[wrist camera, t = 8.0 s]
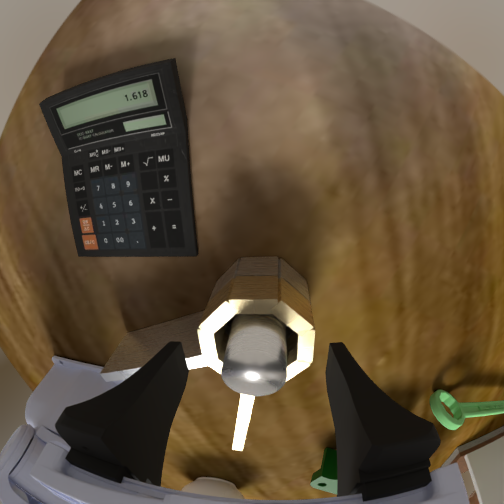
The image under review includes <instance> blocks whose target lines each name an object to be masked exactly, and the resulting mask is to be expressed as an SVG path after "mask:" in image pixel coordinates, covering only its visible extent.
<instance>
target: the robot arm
mask: <svg viewBox="0 0 504 504" xmlns="http://www.w3.org/2000/svg"><path fill="white" fill-rule="evenodd" d="M52 360H53V362H54V364H55V365H54V366H53V367H52V368H51V370H50V371H49V372H48V373H47V375H46V376H45V377H44V378H43V380H42V381H41V382H40V384H39V385H38V386H37V388H36V389H35V390H34V392H33V393H32V394H31V396H30V397H29V399H28V401H27V404H26V409H25V417H26V422H27V425H20V426H19V427H18V428H17V430H16V431H15V432H14V433H13V435H12V436H11V437H10V439H9V440H8V442H7V443H6V445H5V446H4V448H3V450H2V451H1V453H0V501H1V503H2V504H469V503H470V502H469V499H468V495H467V492H466V489H465V485H464V482H463V479H462V476H461V472H460V469H459V466H458V464H457V463H456V462H455V463H452V464H450V465H447V466H444V467H441V468H438V469H436V470H434V471H432V472H429V469H428V467H430V461H429V458H430V457H431V456H432V455H433V453H434V452H435V451H436V450H437V448H438V447H439V445H440V438H439V435H438V433H437V430H436V428H435V427H434V425H433V423H431V422H429V421H427V420H425V419H422V418H420V417H418V416H416V415H415V414H413V413H411V412H410V411H408V410H406V409H405V408H403V407H402V406H400V405H399V404H398V403H396V402H395V401H393V400H392V399H391V398H390V397H389V396H387V395H386V394H385V393H384V392H383V391H382V390H381V389H380V388H379V387H378V386H377V385H376V384H375V383H374V382H373V381H372V380H371V379H370V378H369V377H368V376H367V374H366V373H365V372H364V371H363V370H362V368H361V367H360V366H359V365H358V363H357V362H356V361H355V359H354V358H353V357H352V355H351V354H350V352H349V351H348V349H347V348H346V346H345V345H344V344H343V343H342V342H338V343H330V345H329V352H328V360H327V366H326V384H327V392H328V397H329V402H330V407H331V412H332V417H333V421H334V426H335V433H336V447H337V477H338V483H337V497H331V498H320V499H306V500H250V499H235V498H225V497H216V496H208V495H201V494H195V493H189V492H183V491H178V490H173V489H168V488H164V487H160V486H161V476H162V469H163V462H164V456H165V451H166V446H167V441H168V436H169V432H170V428H171V425H172V422H173V419H174V416H175V414H176V411H177V408H178V406H179V403H180V400H181V398H182V395H183V392H184V389H185V386H186V382H187V377H188V372H189V369H188V366H187V362H186V358H185V354H184V351H183V347H182V343H181V342H176V341H170V342H169V343H167V344H166V345H165V346H164V347H163V348H162V349H161V350H160V351H159V352H158V353H157V354H156V355H155V356H154V357H153V358H151V359H150V360H149V361H148V362H147V363H146V364H145V365H144V366H142V367H141V368H140V369H139V370H138V371H136V372H135V373H134V374H133V375H131V376H130V377H129V378H127V379H126V380H119V381H110V382H106V381H105V380H104V379H103V378H102V376H101V375H100V372H101V371H102V369H103V368H104V367H101V366H96V365H91V364H87V363H83V362H78V361H74V360H70V359H66V358H62V357H58V356H53V357H52ZM17 485H18V486H19V487H18V486H17ZM21 488H22V489H23V490H22V489H21ZM25 491H26V492H25ZM29 494H30V495H29ZM32 496H33V497H32ZM35 498H36V499H35ZM38 500H39V501H38ZM41 502H42V503H41Z"/></svg>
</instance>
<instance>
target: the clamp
mask: <svg viewBox="0 0 504 504" xmlns="http://www.w3.org/2000/svg"><path fill="white" fill-rule="evenodd" d="M337 483H338V477H337V450H333V449H331V448H328V447H327V448H326V449H325V450H324V455H323V460H322V465H321V469H319V470H318V471H316V472H315V473H313V475H312V480H311V484H310V485H311V486H312V487H314V488H316V489H319V490H323V491H326V492H330V493H334V494H337Z"/></svg>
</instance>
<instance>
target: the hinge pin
mask: <svg viewBox="0 0 504 504" xmlns="http://www.w3.org/2000/svg"><path fill="white" fill-rule="evenodd" d="M221 376H222V379H223V381H224V382H225V384H226V385H227V386H228V387H230V388H231V389H232V390H234V391H236V392H238V393H241V394H244V395H248V396H264V395H269V394H272V393H274V392H276V391H278V390H279V389H280V388H282V386H283V385H284V384H285V382H286V379H287V343H286V324H285V323H284V322H282V321H281V320H280V319H278V318H277V317H276V316H275V315H273V314H235V315H234V319H233V323H232V327H231V331H230V335H229V339H228V344H227V348H226V352H225V356H224V360H223V364H222V369H221Z"/></svg>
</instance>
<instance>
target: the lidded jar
mask: <svg viewBox="0 0 504 504" xmlns="http://www.w3.org/2000/svg"><path fill="white" fill-rule="evenodd" d="M181 491H183V492H189V493H195V494H201V495H208V496H216V497H225V498H235V499H245V498H244V497H243V495H242V494H241V492H240V491H239V490H238V489H237V488H236V486H235V484H233V483H231V482H229V481H226V480H223V479H219V478H213V477H199V478H197V479H196V480H195V481H193V482H191V483H189V484H187V485H186V486H185V487H183V488H182V490H181Z"/></svg>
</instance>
